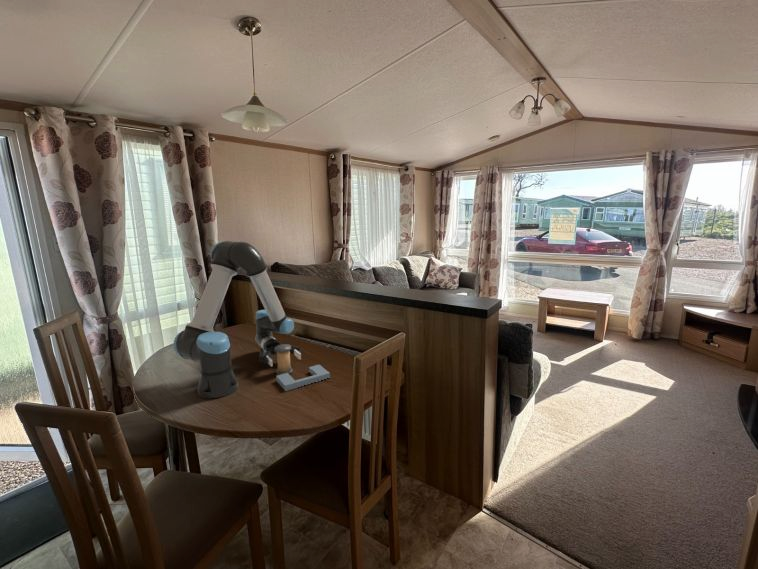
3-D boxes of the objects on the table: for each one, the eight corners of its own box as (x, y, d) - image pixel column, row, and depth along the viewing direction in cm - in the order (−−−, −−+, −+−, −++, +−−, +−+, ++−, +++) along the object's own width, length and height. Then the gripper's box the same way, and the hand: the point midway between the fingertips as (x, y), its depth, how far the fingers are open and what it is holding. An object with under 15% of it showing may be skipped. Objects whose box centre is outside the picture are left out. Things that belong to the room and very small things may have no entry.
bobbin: (279, 376, 157) (277, 351, 155) (274, 371, 163) (272, 346, 161) (295, 372, 161) (293, 347, 159) (289, 367, 167) (287, 343, 165)
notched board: (285, 391, 144) (285, 385, 144) (276, 381, 153) (276, 375, 153) (330, 378, 155) (329, 373, 155) (319, 369, 164) (319, 364, 163)
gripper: (295, 347, 183) (312, 361, 165) (246, 358, 169) (259, 375, 152) (294, 333, 181) (311, 346, 164) (244, 343, 168) (257, 358, 150)
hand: (286, 360), depth 158 cm, fingers open, 12 cm apart
